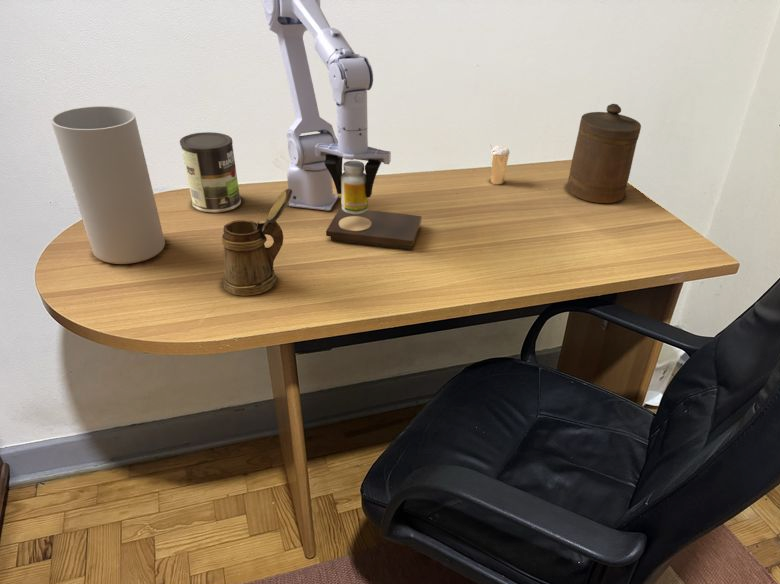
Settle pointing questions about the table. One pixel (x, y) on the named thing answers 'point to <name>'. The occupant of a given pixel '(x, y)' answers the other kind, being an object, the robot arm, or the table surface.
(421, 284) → the table surface
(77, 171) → the cylinder vase
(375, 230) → the stand
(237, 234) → the wooden mug
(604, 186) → the wooden container
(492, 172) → the milkshake
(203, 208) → the coffee can
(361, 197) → the supplement bottle
